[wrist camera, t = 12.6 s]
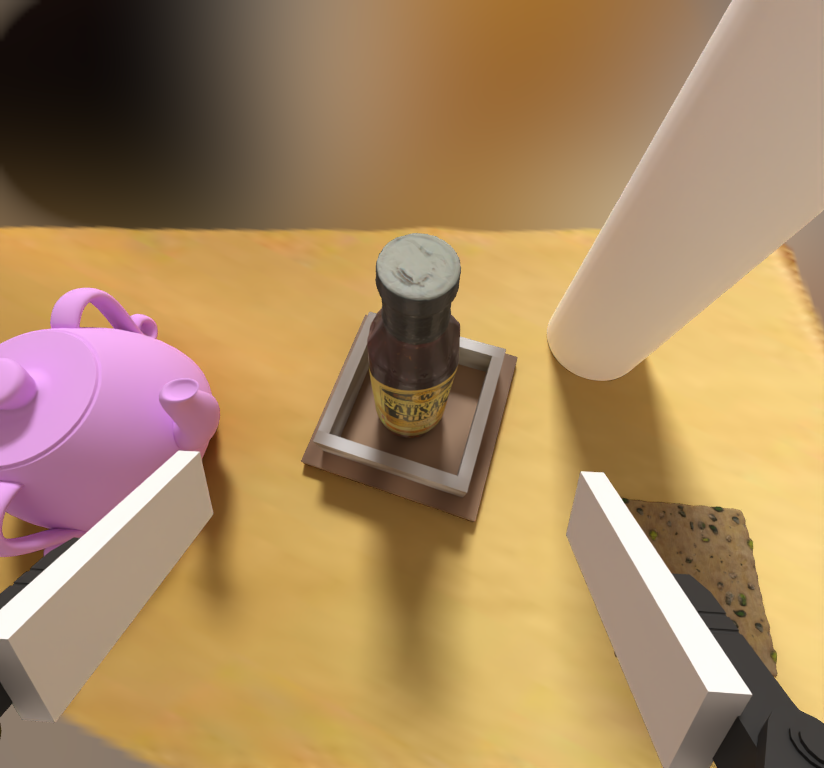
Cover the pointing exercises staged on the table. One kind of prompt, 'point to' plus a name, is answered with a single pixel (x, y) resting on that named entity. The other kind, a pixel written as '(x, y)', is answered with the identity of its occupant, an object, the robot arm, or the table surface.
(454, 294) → the sauce bottle
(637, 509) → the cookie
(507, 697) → the table surface
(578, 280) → the cylinder container
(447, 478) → the grey square tray
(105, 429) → the teapot
